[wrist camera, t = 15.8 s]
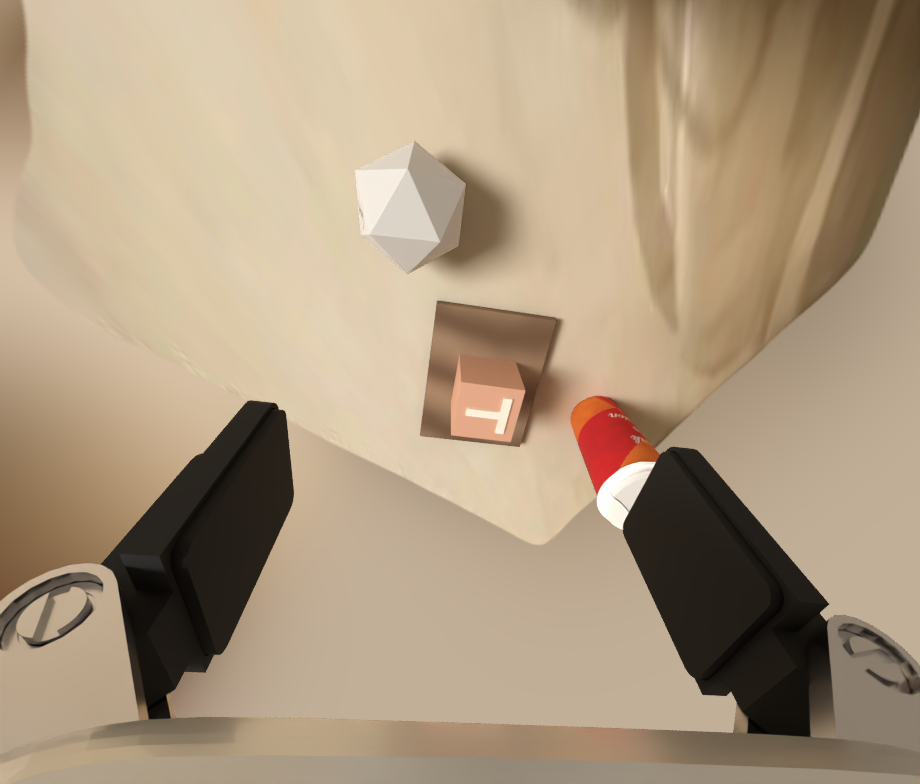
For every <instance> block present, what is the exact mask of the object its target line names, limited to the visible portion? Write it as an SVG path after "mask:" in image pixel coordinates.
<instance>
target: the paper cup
mask: <svg viewBox="0 0 920 784" xmlns="http://www.w3.org/2000/svg"><path fill="white" fill-rule="evenodd" d="M571 424H572V428H573V431H574V434H575V437H576V439H577V442H578V445H579V448H580V451H581V453H582V456H583V459H584V462H585V464H586V467H587V470H588V472H589V475H590V478H591V480H592V483H593V486H594V489H595V491H596V494H597V506H598V509H599V511H600V513H601V514H602V515H603V516H604V517H605V518H606V519H608V520H609V521H610V522H611V523H612V524H613V525H614V526H616V527H618V528H620V529H622V530H623V523H624V520H625V519H626V517H627V515H628V513H629V511H630V509H631V508H632V506H633V504H634V502H635V500H636V498H637V496H638V495H639V493H640V491H641V489H642V487H643V485H644V483H645V482H646V480H647V478H648V476H649V474H650V472H651V470H652V469H653V467H654V465H655V463H656V461H657V459H658V458H659V456H660V455H659V453H658V452H657V451H656V450H655V449H654V448H653V446H652V445H651V444H650V443H649V442H648V440H647V439H646V438H645V437H644V436H643V435H642V433H641V432H640V431H639V430H638V429H637V428H636V426H635V425H634V424H633V423H632V422H631V421H630V419H629V418H628V417H627V416H626V415H625V414H624V412H623V411H622V410H621V409H620V408H619V407H618V406H617V405H616V404H615V403H614V402H613V401H612V400H611V399H609V398H606V397H603V396H594V397H590V398H587V399H585V400H583V401H582V402H580V403H579V404H578V405H577V406H576V407H575V408H574V410H573V412H572V414H571Z"/></svg>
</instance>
